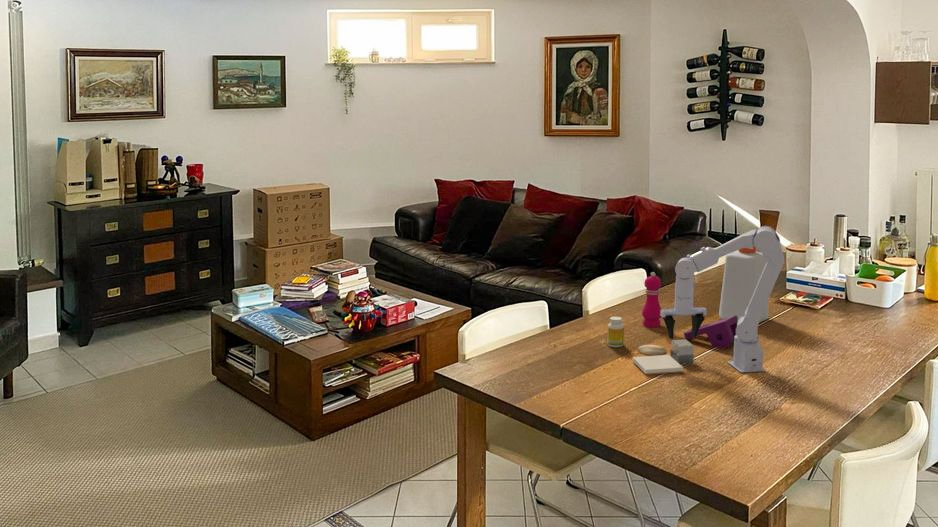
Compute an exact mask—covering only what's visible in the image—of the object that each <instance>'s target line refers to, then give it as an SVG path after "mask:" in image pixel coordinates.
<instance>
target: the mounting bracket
mask: <svg viewBox="0 0 938 527" xmlns="http://www.w3.org/2000/svg"><path fill="white" fill-rule="evenodd" d="M737 321H738V318H737V315H736V316H732V317H729V318H726V319H719V320H716V321H713V322H708V323H705V324H703V325H702V324H701V326H700V328H699V330H698V333H697V336H696V337H699V336H702V335H706V336H707V339H708V341H709V342H710V344H711V345H712V346H713V347H714V348H717V347H718V348H719V349H722V348H723V349H726V348H728V347H729V346H731V345H732V344H734V336H735V335H736V328H737ZM683 335H684V337H685V339H686V340H688V339H692V338H694V337H693V336H692V328H691V329H688V330H687V331H685V332H683Z"/></svg>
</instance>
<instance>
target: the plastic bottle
mask: <svg viewBox="0 0 938 527" xmlns="http://www.w3.org/2000/svg"><path fill="white" fill-rule="evenodd" d="M766 263H767V261H766V259H765V257H764V255H763V254H762V253H761V252H760V251H757V248H756V247H755V245H754V248H753V249H748V248H741V249H739V250H737V251H734V252H732V253H730V254H727V255H725V261H724V268H723V278H722V285H721V286H722V288H721V293H720V303H719V311H718V315H719V318H720V320H722V319H726V318H729V317H732V316H736V315H737V318H738V319H739V318H740V317H741V316H742V315H743V314H744V313H745V311H746V309H747V307H748V305H749V303H750V300H751V298H752V296H753V293H754V291H755V289H756V286H757V284H758V281H759V279H760V277H761V274H762V272H763V270H764V267H765V265H766ZM769 308H770V307H769V300H768V301H767V303H766V305H765V308H764V310H763V312H762V315H761V318H760V321H759V323H762V322H764V321H767V320H768V319H769V317H770V315H769V314H770V313H769V311H770V310H769Z"/></svg>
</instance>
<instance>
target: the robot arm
mask: <svg viewBox="0 0 938 527" xmlns="http://www.w3.org/2000/svg"><path fill="white" fill-rule="evenodd" d="M754 245H755V247H756V250H758V252H761V253H762V254H763V255H764V257H765V259H766V261H767V263H766V265H765V267H764V270H763V272H762V274H761V277H760V279H759V281H758V284H757V286H756V289H755V291H754V293H753V296H752V298H751V300H750V303H749V305H748V307H747V309H746V311H745V313H744V314H743V315H742V316H741V317H740V318H739V319H738V321H737V328H736V335H735V336H734V343H733V357H732V359H733V360H728V361H727V363H728V364H729V365H730V366H731V367H733V368H734V369H736V370H737V371H738V372H739V373H755V372H766V369H765V368H764V366H763V364H764V350H763V348H762V346H761V345H760V337H759V336H758V327H759V324H760V322H759V321H760V318H761V315H762V312H763V310H764V308H765V305H766V303H767V301H768V302H769V299H770V296H771V293H772V291H773V289H774V287H775V285H776V283H777V280H778V277H779V275H780V274H781V271H782V269H783V266H784V263H785V257H784V256H785V255H784V252H783V247H782V243H781V238H780V236H779V235H778V233H777V232H776V230H775V229H774V228H773V227H772V226H768V225H763V226H760V227H758V228H757V229H756V228H754V229H751V230H749V231H746V232H745V233H742V234H740V235H739V236H736V237H734V238H733V239H731V240H729V241H726V242H725V243H722V244H721V245H719V246H717V247H711V246H707V247H705V246H703V247H701V248H700V250H699V251H697V252H694V253H693V254H690V253H689V254H687V255H686V257H682V258H680V259H679V260H678V261H677V263H676V264H675V268H674V272H675V274H676V276H675V285H674V305H673V306H674V307H673V308H667V309H661V311H660V316H661V318H662V320H663V322H664V323H665V326H666V330H667V333H668V334H667V335H668V339H670V340H674V332H675V329H674V328H675V323H676V320H675V319H674V317H682V316H683V317H685V316H691V317H690V318H691V329H692V336H693V337H692V338H693V339H694V338H695V339H696V338H697V337H698V336H697V333H698V330H699V328H700V326H702V324H703V322H704V321H705V316H707V314H708V313H707V312H708V311H707V310H708V309H707V308H705V307H694V298H695V297H694V292H695V280H694V279H695V277H694V276H695V273H699V272H702V271H704V270H706V269H708V268H711V267H712V266H715V265H717V264H718V263H719V260H720V258H722V257H724V256H725V257H726V255H727V254H730V253H732V252H734V251H738V250H739V249H741V248H748V249H753V248H754Z"/></svg>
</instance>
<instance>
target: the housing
mask: <svg viewBox="0 0 938 527" xmlns="http://www.w3.org/2000/svg"><path fill="white" fill-rule="evenodd" d="M670 340H671V343H670V344H671V345H670V351H669V352H670V356H671V357H672V358H673V359H674V360H675V361H677V362H678V363H679V364H680V365H681V366H682V365H693V364H694V363H695V354H694V352H695V350H694V348H695V346H694V345H693V344H692V343H691V342H690V341H688V339H686V338H685V339H670Z"/></svg>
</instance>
